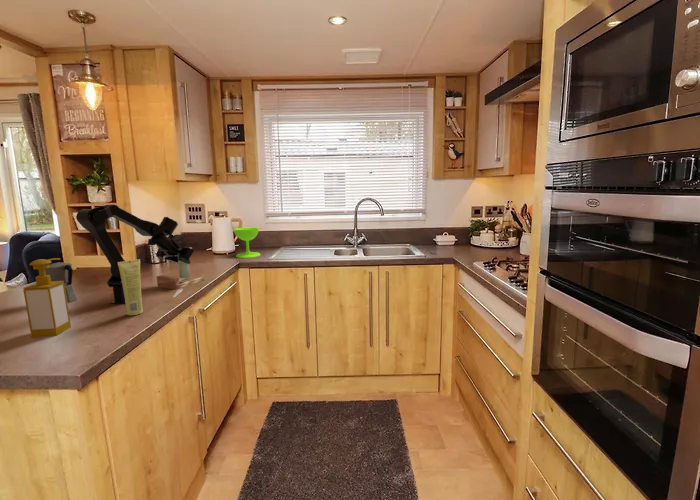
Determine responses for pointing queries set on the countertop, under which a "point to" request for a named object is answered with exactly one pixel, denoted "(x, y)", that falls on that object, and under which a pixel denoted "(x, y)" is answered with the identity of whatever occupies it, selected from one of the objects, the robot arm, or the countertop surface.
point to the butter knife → (177, 293)
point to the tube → (131, 285)
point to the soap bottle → (46, 303)
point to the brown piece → (175, 282)
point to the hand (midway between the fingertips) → (185, 263)
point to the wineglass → (247, 240)
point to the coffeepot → (62, 277)
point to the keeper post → (183, 269)
